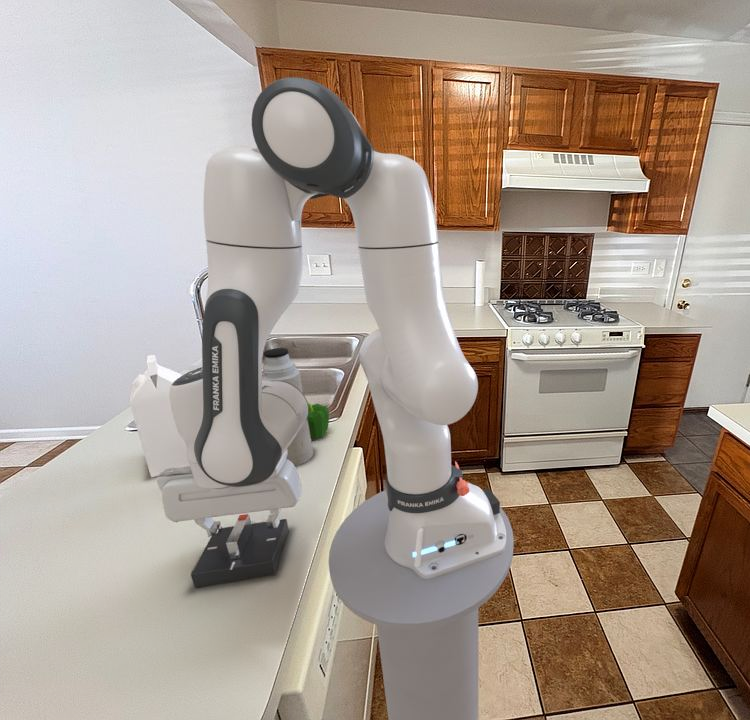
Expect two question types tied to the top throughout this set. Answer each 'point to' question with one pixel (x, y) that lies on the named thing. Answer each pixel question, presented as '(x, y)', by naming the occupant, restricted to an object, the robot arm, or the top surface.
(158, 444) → the milk
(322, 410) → the bell pepper
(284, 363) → the thermos bottle
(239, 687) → the top surface
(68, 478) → the top surface
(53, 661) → the top surface
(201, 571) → the tap base
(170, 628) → the top surface
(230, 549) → the tap knob
